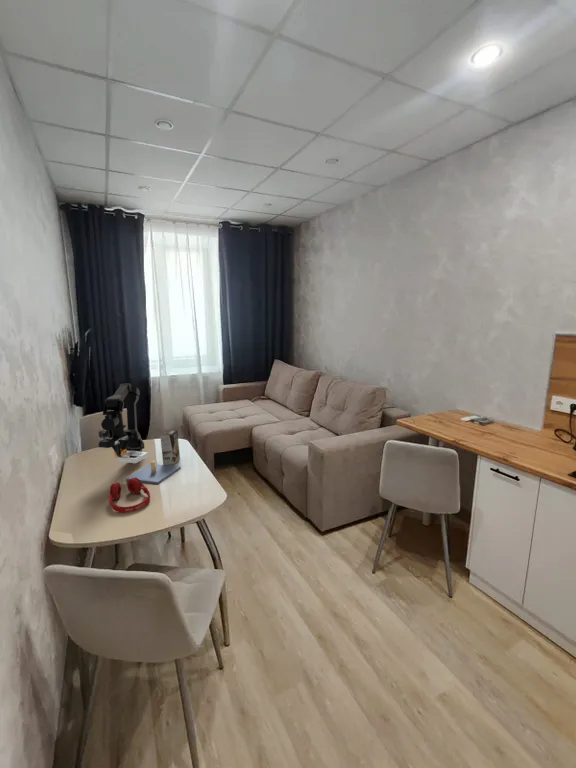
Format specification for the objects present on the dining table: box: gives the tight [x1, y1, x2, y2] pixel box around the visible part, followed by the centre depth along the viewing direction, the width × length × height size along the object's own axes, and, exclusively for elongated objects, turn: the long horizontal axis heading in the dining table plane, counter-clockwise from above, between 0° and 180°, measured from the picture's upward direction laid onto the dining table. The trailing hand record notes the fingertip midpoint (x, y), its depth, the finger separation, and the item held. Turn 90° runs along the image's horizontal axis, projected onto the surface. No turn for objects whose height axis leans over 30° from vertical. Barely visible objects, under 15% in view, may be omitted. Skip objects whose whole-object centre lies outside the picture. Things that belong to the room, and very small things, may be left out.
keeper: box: [125, 460, 181, 485], centre depth 177 cm, size 18×18×7 cm
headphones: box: [108, 478, 151, 514], centre depth 151 cm, size 15×7×20 cm
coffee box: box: [159, 429, 181, 466], centre depth 192 cm, size 9×6×16 cm
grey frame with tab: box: [113, 448, 149, 464], centre depth 173 cm, size 15×8×4 cm, turn 71°
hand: (120, 455), depth 175 cm, fingers closed on grey frame with tab, 2 cm apart
